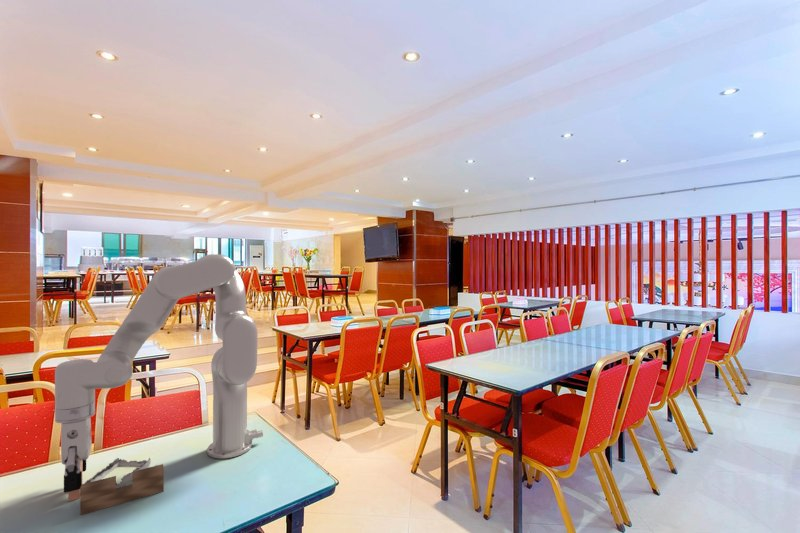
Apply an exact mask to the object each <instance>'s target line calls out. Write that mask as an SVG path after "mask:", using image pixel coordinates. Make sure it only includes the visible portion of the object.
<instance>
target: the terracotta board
mask: <svg viewBox="0 0 800 533" xmlns="http://www.w3.org/2000/svg"><path fill="white" fill-rule="evenodd" d="M76 459H79V457H78V458H75V460H76ZM75 465H76V466H77V463H75ZM80 471H82V484H84V483H83V480H84V479H83V476H84V475H83V460H81V467H80ZM67 493H68V495H67V496H68V500H67V501H68V502H72V501H75V500H79V499H80V489H78V490H74V491H70V492H67Z"/></svg>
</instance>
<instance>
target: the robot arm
mask: <svg viewBox="0 0 800 533" xmlns="http://www.w3.org/2000/svg"><path fill="white" fill-rule="evenodd" d="M210 289H213V291H214V296H215V298H214V299H215V321H214V322H215V323H214V331H215V335H216V336H217V337H218V339H219V340H221V341H222V346H221V347H219V348H218V349H217V350H216V352H214V354H213V356H212V359H211V365H210V366H211V377H212V397H213V399H212V442H211V443H210V444H209V445H208V446H207V449H206V451H207V452H206V453H207V455H208V457H210V458H213V459H219V460H221V459H222V460H223V459H230V458H231V459H232V458H235V457H238V456H241V455H243V454H245V453H246V452H248V451H249V450H250V449H251V448H252V446H253V440H254V439H258V438H263V437H264V432H263V430H257V429H252V430H248V382H249V381H251V379H252V378H253V377H254V375H255V373H256V371H257V365H258V328H257V324H256V323H255V321H254V319H253V318H252V317H251V316H250V315H247V300H246V299H247V298H246V296H247V294H246V286H245V284H244V281H243V279H242V277H241V275H240V273H239V272H238V271H237V269H236V266H235V263H234V261H233V259H231V258H230V257H229V256H227V255H224V254H218V253H217V254H214V253H213V254H206V255H204V256H202V257H200V258H199V259H198V260H195V261H192V262H188V263H184V264H181V265H175V266H165V267H161V268H159V269H158V270H157V271H156V272H155V274H154V275H153V276H152V277H151V279H150V280H149V282H148V284H147V286H146V287H145V289H144V290H143V291H142V293H141V294H140V296H139V298H138V299H137V301H136V302H135V304H134V305H133V307H132V308H131V309H130V311H129V313H128V315H126V317H125V318H124V320H123V321H122V323H121V325H120V326H119V328H117V330H116V332H115V333H114V335H113V336H112V337H111V339H110V340H109V341H108V343H107V345H106V347H105V348H104V349H103V351H102V353H101V354H100V355H99V357H98V359H97V361H95V362H94V360H91V359H85V358H84V359H83V358H82V359H80V358H79V359H73V360H71V359H70V360H67V361H64V362H61V363H59V364H58V365H57V366H56V367H55V370H54V422H55V423H57V424H60V425H61V426H60V452H61V453H60V454H61V455H60V457H61V458H60V459H61V465H64V474H63V493H68V492H70V491H74V490H78V489H80V488H81V484H82V471H80V467H81V460H83V472H86V471H87V460H88V459H89V458H90V454H91V451H92V450H91V449H92V423H91V422H92V419H91V417H93V416H94V415H96V390H98V389H101V390H102V389H105V390H106V389H115V388H118V387H122V386H125V385H126V384H127V383H128V382H129V381H130V380H131V379H132V376H133V373H134V372H133V371H134V370H133V366H132V362H133V361H134V359H135V358H136V356H137V354H138V353H139V351H140V350H141V348H142V346H143V345H144V344H145V343H146V342H147V340H149V338H150V337H151V336H153V335H154V334H155V333H157V332H158V331H159V330H160V329H161V328H162V327H163V326H164V324H165V323H166V321H167V319H168V318H169V316H170V315H171V312H172V311H173V310H174V308H175V307H176V304H177V303H178V302H179V300H180V299H182V298H186V297H189V296H192V295H196V294H199V293H202V292H204V291H207V290H210ZM78 457H79V459H76V460H75V458H78ZM75 463H77V466H76V465H75Z"/></svg>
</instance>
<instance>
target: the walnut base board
mask: <svg viewBox="0 0 800 533" xmlns="http://www.w3.org/2000/svg"><path fill="white" fill-rule="evenodd" d="M164 468H165V467H164V463H162V464H158V465H154V466H149V467H148V468H145V469H141V470H137V471H133V470H132V471H131V472H132V479H131V481H132V482H131V483H130V484H125V485H123V486H121V487H119V488H116V483H117V475H113V476H110V477H106V478H105V477H104V478H102V479H101V480H97V481H93V482H89V483H85V484H84V483H83V484H81V488H80V498H79V499H80V503H79V504H80V510H79V512H80V513H79V514H80V516H82V515H84V514H90V513H93V512H96V511H99V510H103V509H107V508H110V507H113V506H117V505H120V504H124V503H127V502H131V501H134V500H139V499H141V498H145V497H149V496H152V495H155V494H159V493H162V492H164V480H165V479H164V474H165V472H164Z"/></svg>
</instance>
